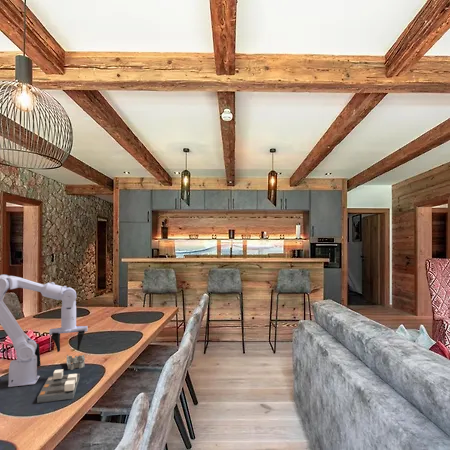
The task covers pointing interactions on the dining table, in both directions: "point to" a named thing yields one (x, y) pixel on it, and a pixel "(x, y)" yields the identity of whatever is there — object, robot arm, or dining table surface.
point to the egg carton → (75, 362)
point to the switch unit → (56, 390)
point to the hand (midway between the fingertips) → (68, 350)
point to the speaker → (38, 355)
